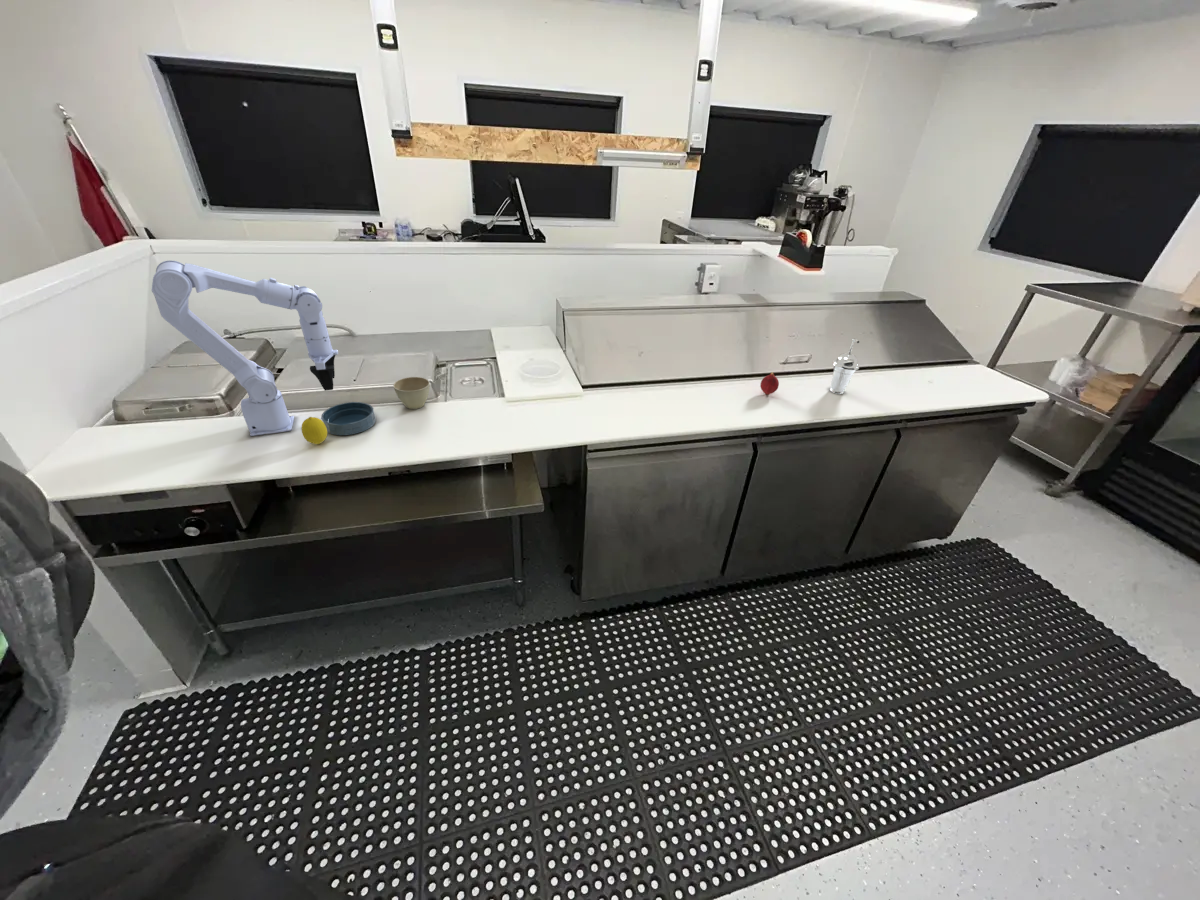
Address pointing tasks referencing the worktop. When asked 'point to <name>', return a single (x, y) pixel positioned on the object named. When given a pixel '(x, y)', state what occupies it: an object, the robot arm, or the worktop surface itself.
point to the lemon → (314, 430)
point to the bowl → (349, 418)
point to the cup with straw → (843, 370)
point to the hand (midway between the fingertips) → (329, 383)
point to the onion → (769, 384)
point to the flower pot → (412, 391)
